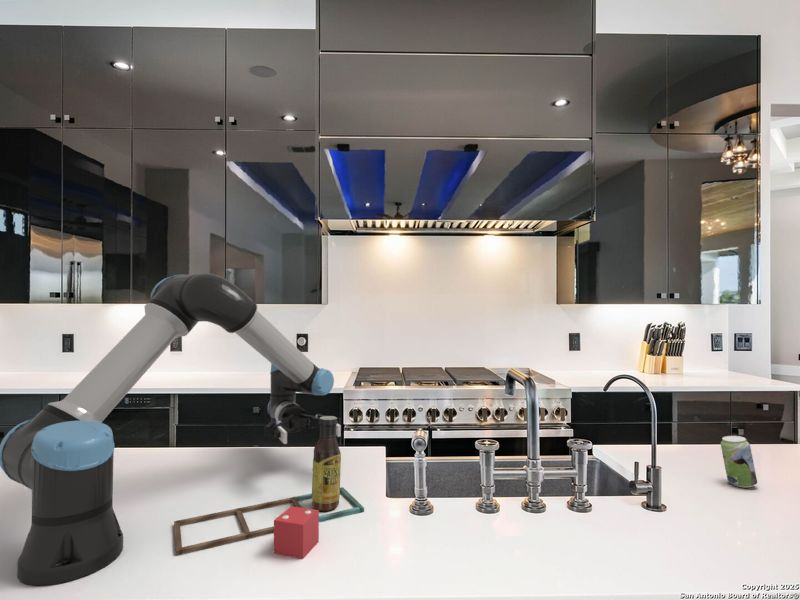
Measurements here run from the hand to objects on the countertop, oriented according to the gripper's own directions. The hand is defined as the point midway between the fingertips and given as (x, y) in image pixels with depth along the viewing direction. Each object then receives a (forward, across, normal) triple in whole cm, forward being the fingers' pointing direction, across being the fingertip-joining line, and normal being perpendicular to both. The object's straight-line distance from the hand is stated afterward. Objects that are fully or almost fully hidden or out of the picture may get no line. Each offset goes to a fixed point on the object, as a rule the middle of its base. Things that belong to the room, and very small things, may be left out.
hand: (313, 434), depth 110 cm
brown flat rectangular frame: (+10, +12, -14) cm, 21 cm away
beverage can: (+48, -96, -13) cm, 108 cm away
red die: (+24, +10, -14) cm, 30 cm away
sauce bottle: (+10, 0, -14) cm, 17 cm away
